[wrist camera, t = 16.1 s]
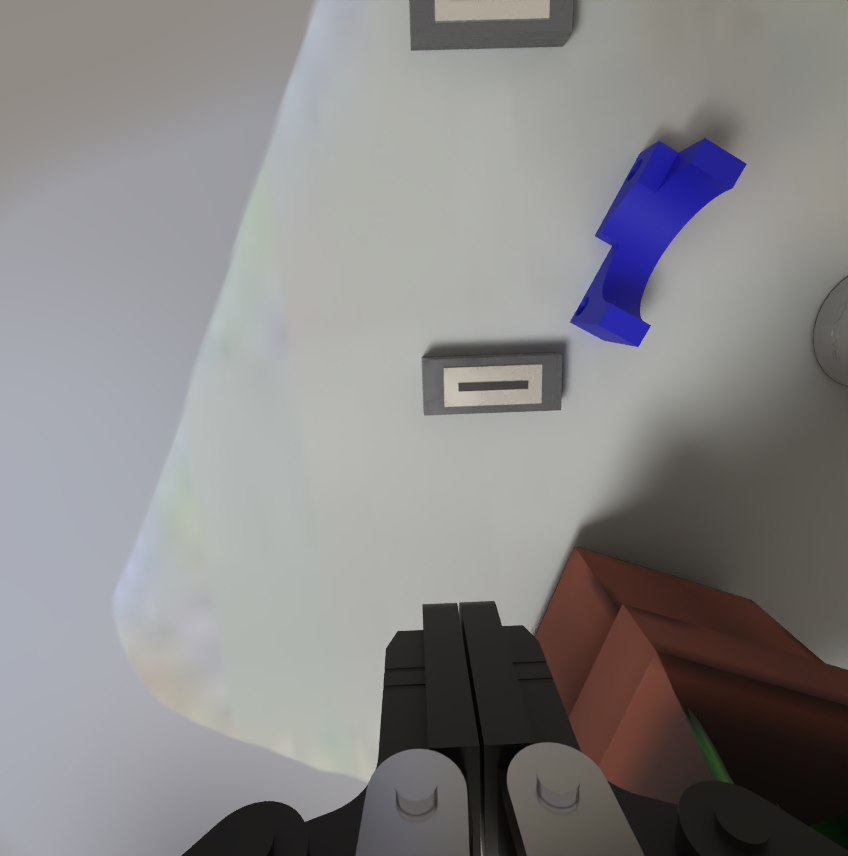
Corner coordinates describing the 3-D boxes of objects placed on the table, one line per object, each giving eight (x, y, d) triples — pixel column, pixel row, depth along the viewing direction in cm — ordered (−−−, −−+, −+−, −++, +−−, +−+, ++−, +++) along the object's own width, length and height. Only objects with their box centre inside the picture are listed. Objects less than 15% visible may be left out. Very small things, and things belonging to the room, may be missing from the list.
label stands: (564, -26, 33) (576, -50, 30) (553, 404, 39) (562, 410, 37) (408, -22, 32) (408, -46, 30) (423, 409, 39) (424, 416, 37)
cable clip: (638, 154, 35) (684, 125, 30) (692, 186, 36) (746, 163, 30) (552, 312, 38) (578, 314, 32) (603, 340, 38) (638, 346, 33)
